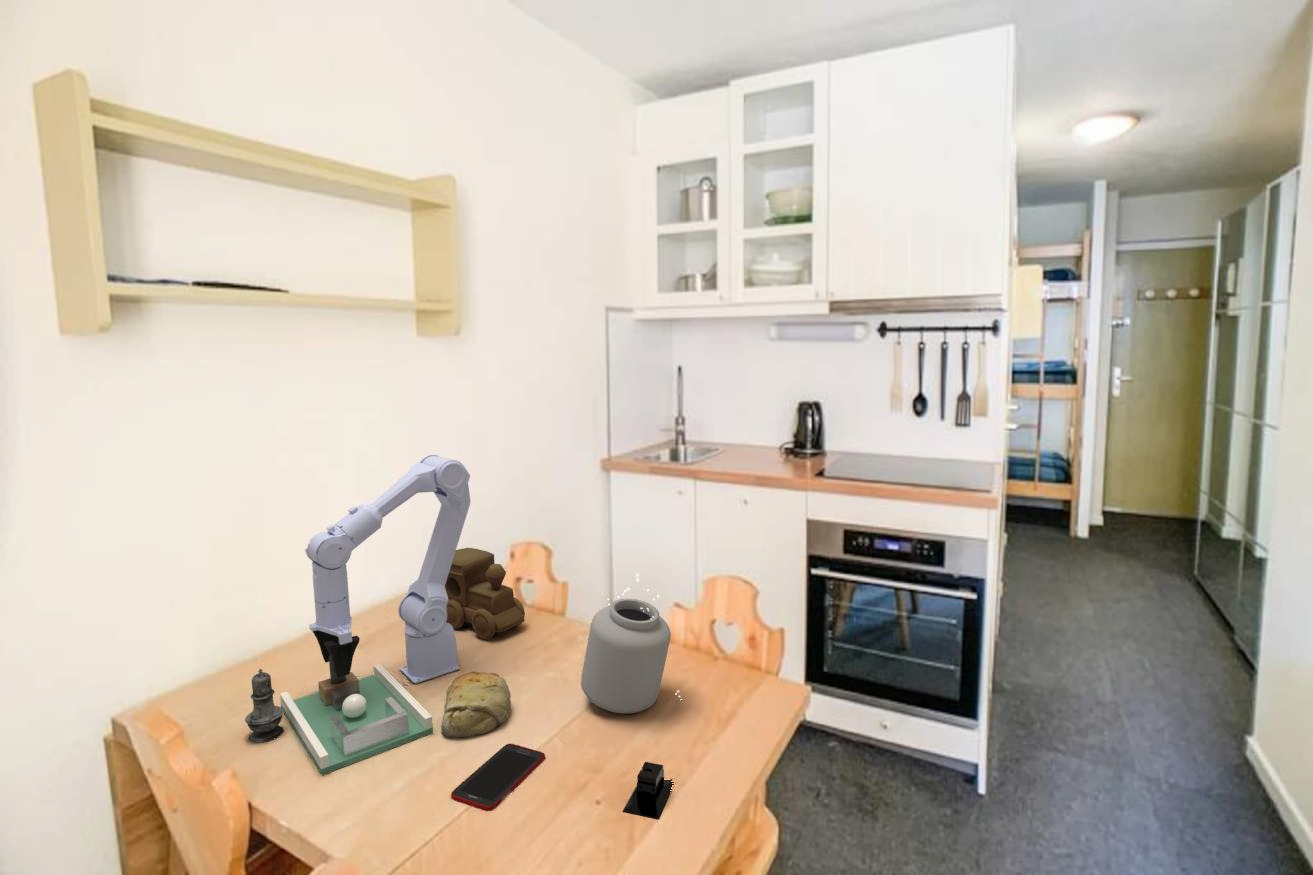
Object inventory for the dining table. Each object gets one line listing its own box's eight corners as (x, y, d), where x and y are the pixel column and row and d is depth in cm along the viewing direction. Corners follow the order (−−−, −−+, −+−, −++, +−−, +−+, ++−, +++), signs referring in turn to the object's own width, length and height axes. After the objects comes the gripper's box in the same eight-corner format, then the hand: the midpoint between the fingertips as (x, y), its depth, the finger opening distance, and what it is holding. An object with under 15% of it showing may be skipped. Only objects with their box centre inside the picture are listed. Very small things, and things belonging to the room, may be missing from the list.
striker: (352, 686, 135) (349, 647, 134) (365, 700, 130) (362, 659, 129) (319, 697, 131) (316, 656, 130) (330, 712, 126) (327, 670, 125)
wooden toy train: (435, 625, 166) (431, 557, 164) (473, 609, 176) (470, 545, 173) (493, 645, 155) (490, 573, 153) (530, 628, 164) (528, 559, 162)
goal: (392, 715, 125) (391, 696, 125) (408, 733, 119) (407, 714, 119) (330, 736, 118) (329, 717, 118) (344, 757, 113) (343, 737, 112)
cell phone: (547, 758, 114) (547, 752, 114) (490, 814, 101) (490, 808, 101) (508, 747, 117) (508, 741, 117) (448, 800, 104) (448, 794, 104)
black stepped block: (642, 769, 111) (641, 743, 111) (686, 778, 109) (686, 750, 109) (613, 821, 100) (612, 791, 99) (662, 831, 98) (662, 801, 97)
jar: (692, 693, 134) (692, 567, 130) (662, 734, 120) (661, 594, 117) (604, 675, 141) (601, 555, 137) (566, 711, 128) (562, 579, 124)
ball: (363, 707, 128) (361, 687, 127) (370, 716, 125) (369, 695, 124) (339, 715, 125) (338, 694, 124) (347, 725, 122) (345, 703, 121)
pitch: (380, 677, 141) (379, 663, 140) (433, 732, 121) (432, 716, 121) (281, 708, 129) (279, 693, 129) (321, 775, 110) (320, 757, 109)
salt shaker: (268, 745, 118) (261, 678, 116) (238, 741, 119) (231, 675, 117) (293, 726, 124) (287, 662, 122) (264, 723, 125) (258, 659, 123)
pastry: (491, 692, 135) (489, 653, 134) (528, 716, 126) (527, 675, 125) (422, 721, 125) (419, 678, 124) (457, 749, 117) (455, 704, 115)
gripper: (297, 592, 132) (303, 660, 134) (319, 615, 121) (325, 689, 123) (337, 583, 136) (342, 649, 138) (362, 604, 125) (366, 676, 127)
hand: (337, 667), depth 131 cm, fingers open, 7 cm apart
